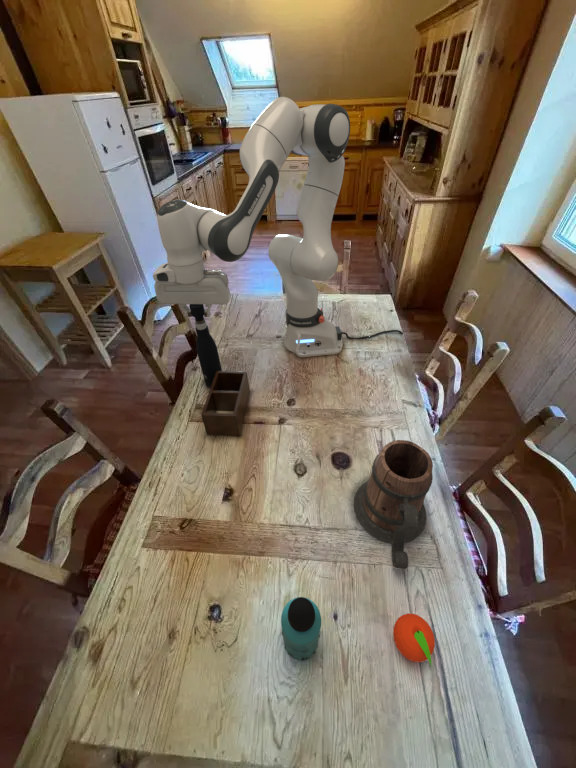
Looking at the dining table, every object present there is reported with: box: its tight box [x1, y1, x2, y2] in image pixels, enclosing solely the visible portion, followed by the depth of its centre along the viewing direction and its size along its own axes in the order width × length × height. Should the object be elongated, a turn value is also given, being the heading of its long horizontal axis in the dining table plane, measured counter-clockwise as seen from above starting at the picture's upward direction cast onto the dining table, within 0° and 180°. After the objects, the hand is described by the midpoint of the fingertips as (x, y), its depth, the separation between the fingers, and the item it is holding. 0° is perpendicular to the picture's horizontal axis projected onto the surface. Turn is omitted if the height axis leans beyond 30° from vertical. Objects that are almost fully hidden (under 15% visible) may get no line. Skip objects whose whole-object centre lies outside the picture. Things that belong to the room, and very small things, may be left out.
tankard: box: [353, 439, 434, 570], centre depth 72 cm, size 24×17×20 cm
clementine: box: [392, 613, 436, 667], centre depth 60 cm, size 8×7×7 cm
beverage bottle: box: [280, 596, 322, 663], centre depth 56 cm, size 6×7×20 cm
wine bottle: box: [188, 304, 223, 389], centre depth 107 cm, size 6×6×30 cm
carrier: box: [200, 370, 251, 437], centre depth 103 cm, size 10×19×9 cm, turn 176°
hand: (198, 316), depth 99 cm, fingers closed on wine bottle, 4 cm apart
